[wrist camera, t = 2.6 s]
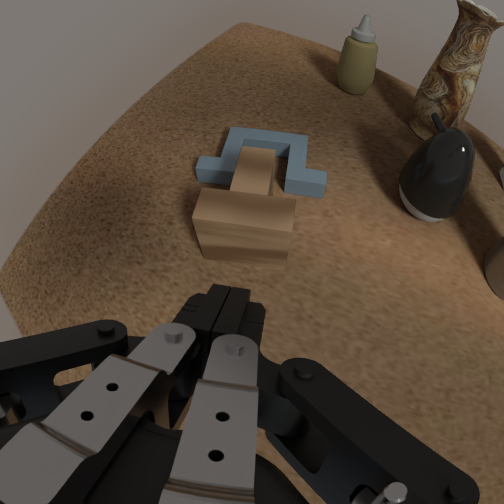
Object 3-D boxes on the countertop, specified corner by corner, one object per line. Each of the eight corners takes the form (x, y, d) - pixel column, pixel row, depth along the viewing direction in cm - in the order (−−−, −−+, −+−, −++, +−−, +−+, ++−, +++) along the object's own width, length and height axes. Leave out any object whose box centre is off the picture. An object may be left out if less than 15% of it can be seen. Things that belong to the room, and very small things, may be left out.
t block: (284, 271, 38) (292, 232, 30) (204, 258, 39) (191, 217, 31) (293, 199, 43) (301, 153, 35) (223, 190, 44) (217, 143, 36)
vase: (399, 111, 54) (439, -15, 28) (440, 119, 54) (485, 6, 28) (416, 144, 49) (471, 5, 23) (458, 152, 49) (519, 30, 23)
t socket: (322, 198, 43) (326, 184, 40) (198, 181, 45) (195, 168, 42) (324, 152, 48) (327, 138, 45) (214, 138, 49) (212, 125, 46)
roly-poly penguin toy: (420, 172, 46) (455, 104, 33) (457, 220, 42) (506, 156, 28) (377, 187, 44) (411, 109, 31) (416, 241, 40) (469, 171, 26)
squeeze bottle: (359, 103, 55) (377, 26, 39) (326, 86, 57) (337, 11, 42) (375, 91, 58) (394, 21, 42) (345, 75, 60) (357, 7, 44)
